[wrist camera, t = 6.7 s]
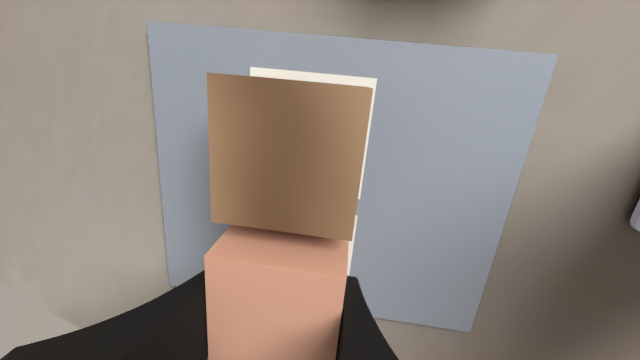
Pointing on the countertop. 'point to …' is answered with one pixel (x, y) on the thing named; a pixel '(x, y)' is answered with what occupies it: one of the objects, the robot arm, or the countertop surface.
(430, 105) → the build board
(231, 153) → the walnut block
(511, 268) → the countertop surface
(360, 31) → the countertop surface
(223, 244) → the terracotta block
